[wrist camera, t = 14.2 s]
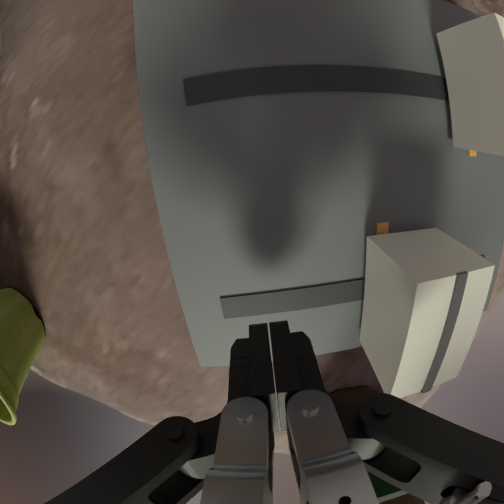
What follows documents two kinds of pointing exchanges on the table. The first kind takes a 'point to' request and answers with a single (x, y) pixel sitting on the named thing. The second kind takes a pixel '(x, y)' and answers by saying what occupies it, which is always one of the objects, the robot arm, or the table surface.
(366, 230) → the fader board
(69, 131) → the table surface
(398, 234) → the block
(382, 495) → the beer bottle
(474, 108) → the block
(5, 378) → the plant pot
